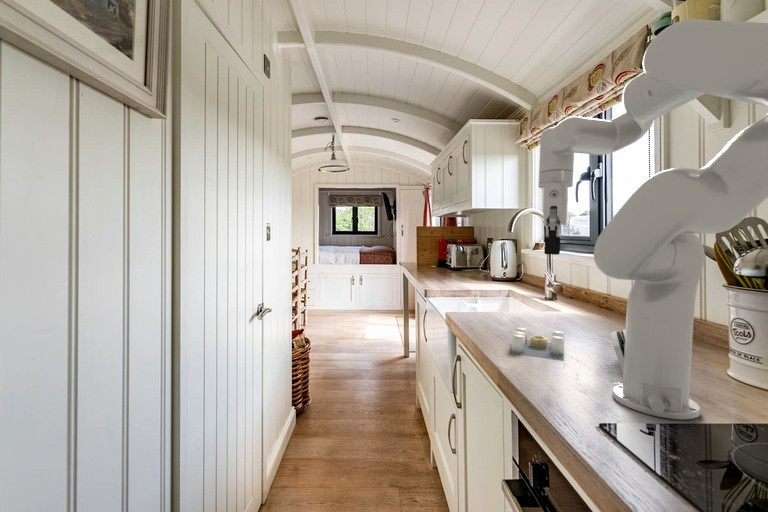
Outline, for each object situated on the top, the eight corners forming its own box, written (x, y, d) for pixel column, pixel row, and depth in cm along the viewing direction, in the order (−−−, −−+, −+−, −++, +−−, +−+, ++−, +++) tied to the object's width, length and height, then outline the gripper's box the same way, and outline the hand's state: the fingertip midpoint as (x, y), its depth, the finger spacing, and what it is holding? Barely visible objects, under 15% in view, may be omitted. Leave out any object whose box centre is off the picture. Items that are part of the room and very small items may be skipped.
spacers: (563, 359, 90) (564, 343, 89) (510, 351, 95) (510, 336, 95) (563, 346, 101) (564, 331, 101) (516, 340, 107) (516, 326, 106)
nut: (546, 349, 98) (546, 340, 98) (529, 347, 100) (530, 338, 99) (546, 345, 102) (547, 336, 102) (531, 343, 104) (531, 334, 104)
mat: (563, 362, 89) (563, 360, 89) (509, 354, 94) (509, 352, 94) (563, 346, 103) (563, 344, 103) (516, 340, 108) (516, 338, 108)
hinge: (654, 385, 75) (636, 336, 77) (627, 388, 78) (611, 340, 79) (647, 363, 90) (632, 322, 91) (624, 366, 92) (610, 326, 93)
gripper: (573, 173, 81) (569, 255, 82) (572, 185, 97) (569, 254, 97) (536, 175, 84) (533, 254, 85) (540, 186, 100) (537, 252, 100)
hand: (552, 253), depth 91 cm, fingers open, 6 cm apart
